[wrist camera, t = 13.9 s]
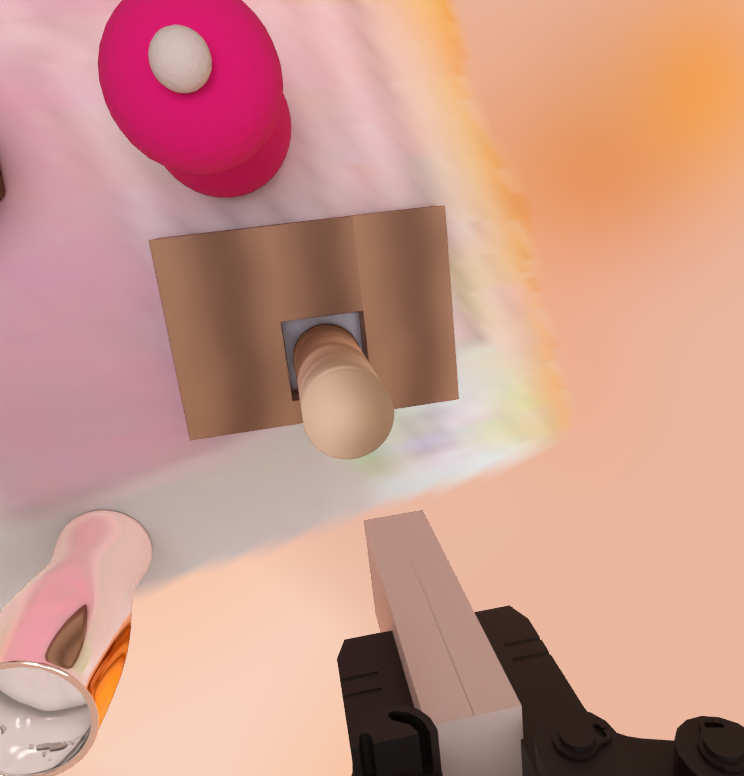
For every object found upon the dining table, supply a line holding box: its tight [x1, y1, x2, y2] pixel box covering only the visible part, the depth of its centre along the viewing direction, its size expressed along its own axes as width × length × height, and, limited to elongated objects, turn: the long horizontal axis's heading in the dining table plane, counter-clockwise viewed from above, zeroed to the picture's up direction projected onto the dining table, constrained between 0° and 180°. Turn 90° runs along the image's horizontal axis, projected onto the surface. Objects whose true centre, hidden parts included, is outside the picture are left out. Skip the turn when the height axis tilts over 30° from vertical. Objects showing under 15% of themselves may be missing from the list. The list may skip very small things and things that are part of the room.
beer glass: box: [0, 510, 152, 776], centre depth 35 cm, size 7×7×15 cm
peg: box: [293, 324, 394, 459], centre depth 34 cm, size 4×4×14 cm
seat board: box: [149, 206, 459, 440], centre depth 39 cm, size 17×12×2 cm
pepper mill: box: [98, 0, 291, 197], centre depth 27 cm, size 7×7×20 cm
